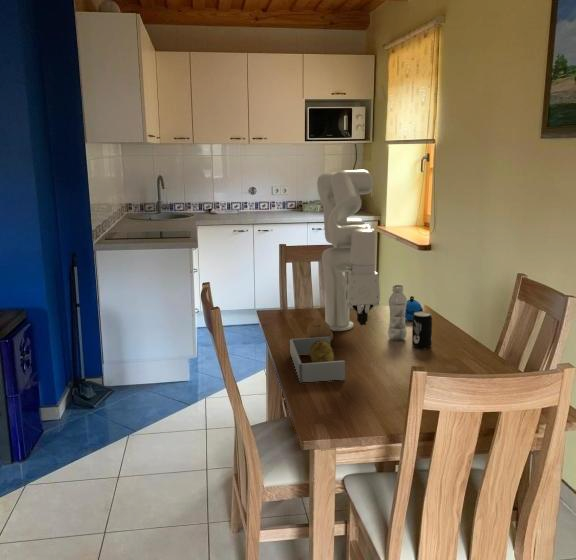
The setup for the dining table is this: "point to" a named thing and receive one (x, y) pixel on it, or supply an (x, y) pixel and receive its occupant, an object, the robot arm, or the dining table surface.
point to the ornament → (412, 308)
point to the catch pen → (314, 370)
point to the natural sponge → (319, 329)
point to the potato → (321, 352)
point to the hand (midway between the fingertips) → (362, 323)
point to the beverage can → (422, 330)
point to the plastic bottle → (397, 314)
